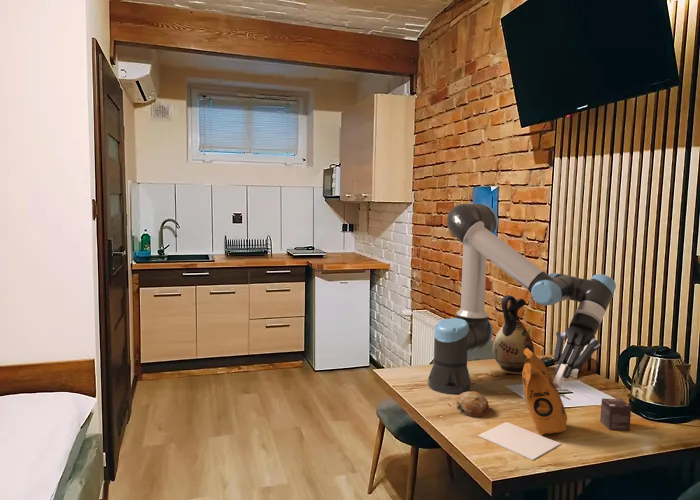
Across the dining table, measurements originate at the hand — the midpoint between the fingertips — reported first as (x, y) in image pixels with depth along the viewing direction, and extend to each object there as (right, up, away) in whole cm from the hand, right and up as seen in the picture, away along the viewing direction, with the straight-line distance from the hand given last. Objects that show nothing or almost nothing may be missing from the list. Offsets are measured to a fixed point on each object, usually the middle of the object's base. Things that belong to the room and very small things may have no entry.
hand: (556, 385), depth 145 cm
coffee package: (-1, -12, +3) cm, 13 cm away
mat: (-12, -14, -4) cm, 19 cm away
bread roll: (-20, -12, +16) cm, 29 cm away
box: (+20, -14, +7) cm, 25 cm away
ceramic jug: (+4, -9, +54) cm, 55 cm away
